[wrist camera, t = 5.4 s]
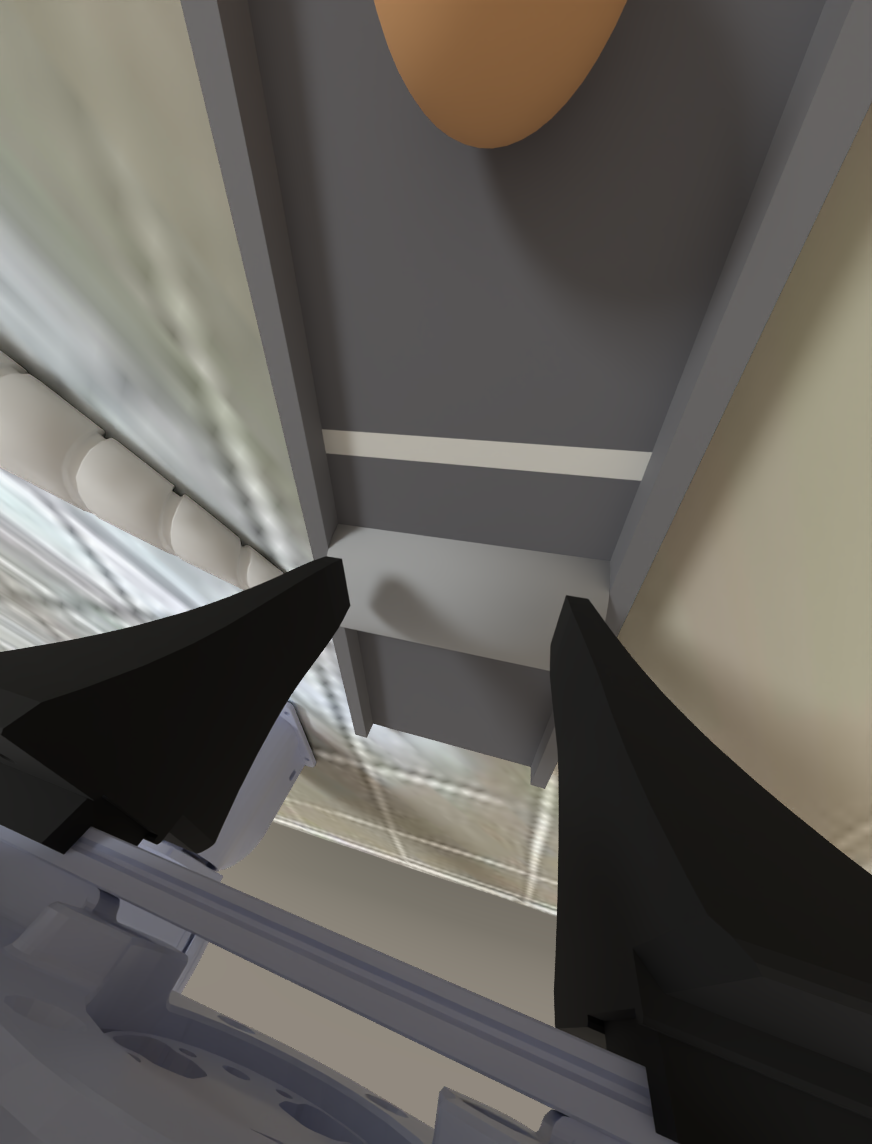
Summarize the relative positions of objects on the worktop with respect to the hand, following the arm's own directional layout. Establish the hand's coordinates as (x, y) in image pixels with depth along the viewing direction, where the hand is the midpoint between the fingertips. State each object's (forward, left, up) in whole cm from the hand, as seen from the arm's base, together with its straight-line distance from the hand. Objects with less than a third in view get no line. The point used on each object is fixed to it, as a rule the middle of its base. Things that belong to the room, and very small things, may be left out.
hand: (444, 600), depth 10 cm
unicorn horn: (+2, +16, -4) cm, 17 cm away
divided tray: (+4, 0, -7) cm, 8 cm away
